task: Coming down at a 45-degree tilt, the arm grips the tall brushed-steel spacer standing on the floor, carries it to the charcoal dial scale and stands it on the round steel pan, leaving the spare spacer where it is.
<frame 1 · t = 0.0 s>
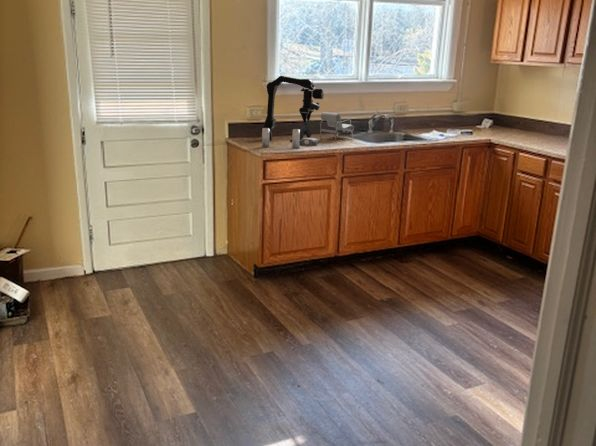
hand: (306, 121, 390), 15 cm above the countertop, tool pointing down, fingers open, 9 cm apart
handgun: (303, 139, 413), on the countertop
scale: (309, 143, 394), on the countertop
spare spacer: (265, 146, 376), on the countertop
steel spacer: (295, 148, 376), on the countertop
chair: (336, 139, 418), on the countertop
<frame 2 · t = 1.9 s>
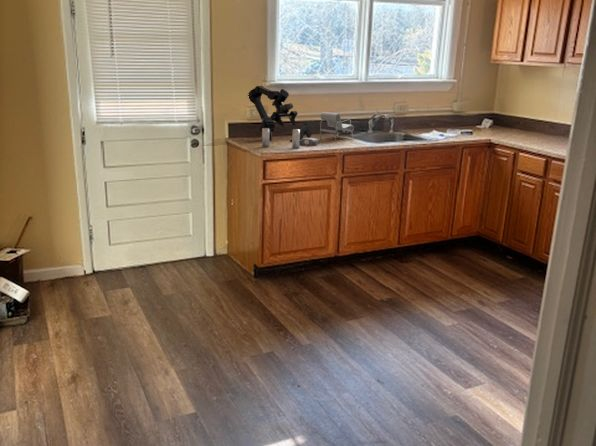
hand: (289, 125, 378), 13 cm above the countertop, tool tilted 45°, fingers open, 9 cm apart
nothing on the countertop moved.
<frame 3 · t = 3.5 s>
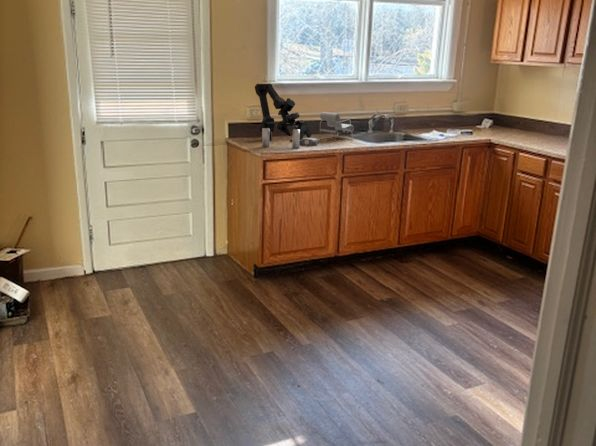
hand: (295, 135, 374), 8 cm above the countertop, tool tilted 45°, fingers open, 9 cm apart
nothing on the countertop moved.
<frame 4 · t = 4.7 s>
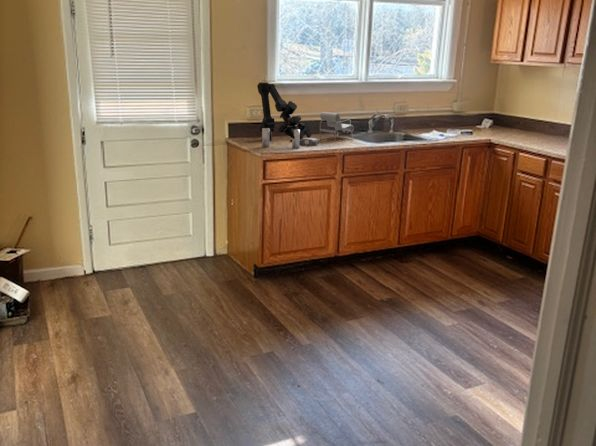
hand: (297, 138, 373), 7 cm above the countertop, tool tilted 45°, fingers closed on steel spacer, 5 cm apart
steel spacer: (295, 148, 376), on the countertop, touching gripper
everything else where it was.
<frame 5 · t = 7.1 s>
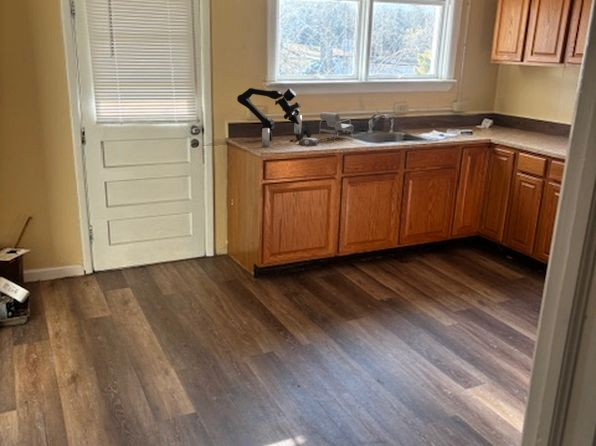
hand: (299, 123, 391), 13 cm above the countertop, tool tilted 45°, fingers closed on steel spacer, 5 cm apart
steel spacer: (297, 133, 393), point 7 cm above the countertop, touching gripper
everything else where it was.
when the fingers open (10 cm above the countertop, at t = 9.5 s): steel spacer stays where it is, resting on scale.
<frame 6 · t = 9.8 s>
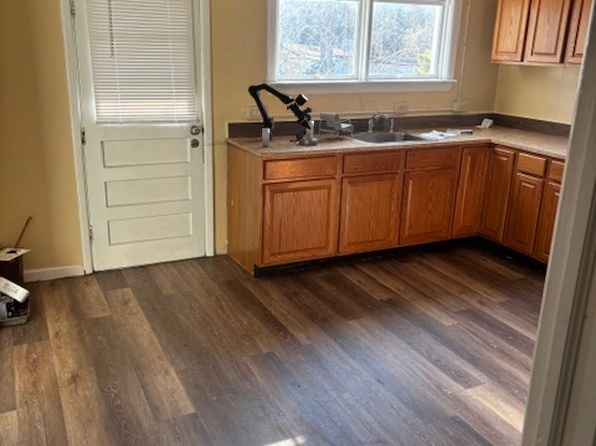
hand: (312, 128, 391), 11 cm above the countertop, tool tilted 45°, fingers open, 8 cm apart
steel spacer: (309, 138, 393), point 3 cm above the countertop, touching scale
everything else where it was.
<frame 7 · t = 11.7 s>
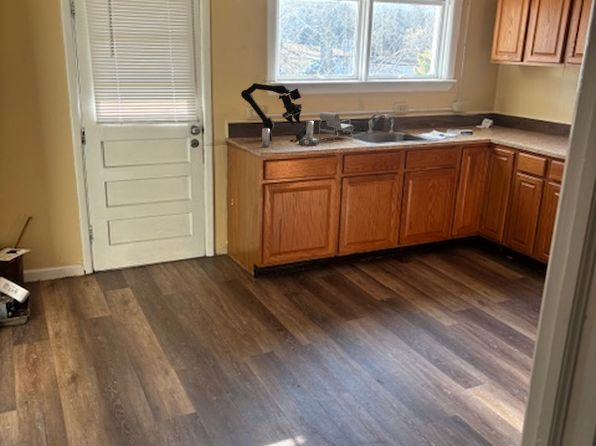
hand: (296, 124, 396), 12 cm above the countertop, tool tilted 25°, fingers open, 9 cm apart
nothing on the countertop moved.
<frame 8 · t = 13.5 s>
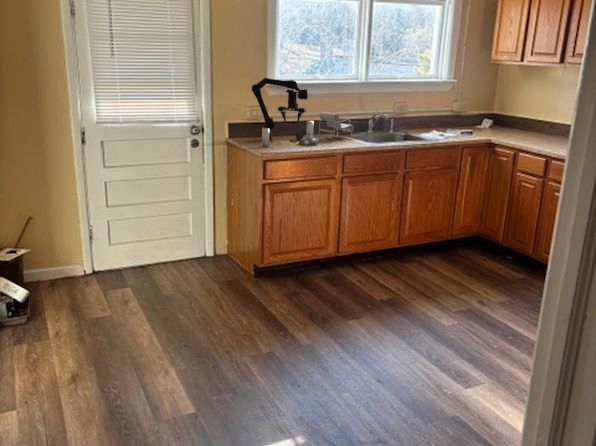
hand: (291, 122, 399), 13 cm above the countertop, tool pointing down, fingers open, 9 cm apart
nothing on the countertop moved.
at the end: steel spacer inside the target area on the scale (0.2 cm from its centre), point 3.3 cm above the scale's base; steel spacer tilted 0°; the gripper is holding nothing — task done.
